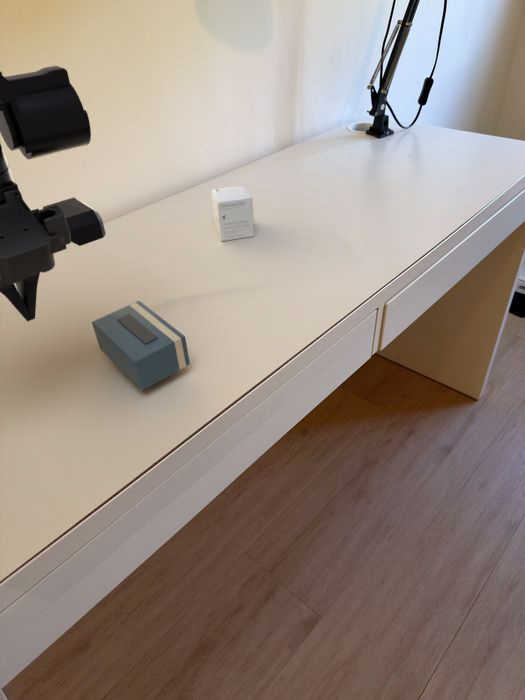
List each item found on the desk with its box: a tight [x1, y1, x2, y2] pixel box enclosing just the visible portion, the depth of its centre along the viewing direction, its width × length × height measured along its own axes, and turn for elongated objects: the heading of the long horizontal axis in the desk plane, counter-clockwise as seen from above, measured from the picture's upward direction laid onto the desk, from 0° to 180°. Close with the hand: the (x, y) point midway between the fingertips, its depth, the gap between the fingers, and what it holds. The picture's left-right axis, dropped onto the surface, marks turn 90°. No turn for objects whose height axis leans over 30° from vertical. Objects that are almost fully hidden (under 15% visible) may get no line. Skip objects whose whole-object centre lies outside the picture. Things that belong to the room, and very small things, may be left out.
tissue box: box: [91, 300, 191, 391], centre depth 67 cm, size 11×5×7 cm
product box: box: [211, 185, 255, 242], centre depth 93 cm, size 6×6×7 cm
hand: (29, 318), depth 55 cm, fingers closed
